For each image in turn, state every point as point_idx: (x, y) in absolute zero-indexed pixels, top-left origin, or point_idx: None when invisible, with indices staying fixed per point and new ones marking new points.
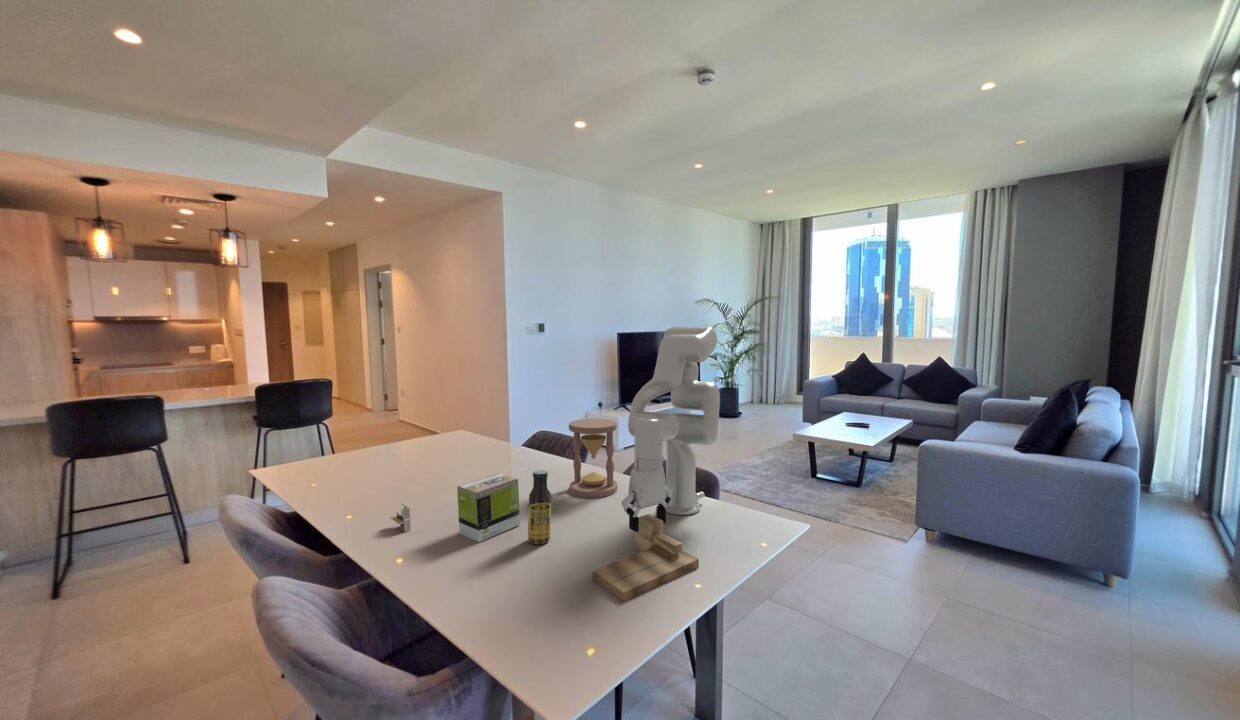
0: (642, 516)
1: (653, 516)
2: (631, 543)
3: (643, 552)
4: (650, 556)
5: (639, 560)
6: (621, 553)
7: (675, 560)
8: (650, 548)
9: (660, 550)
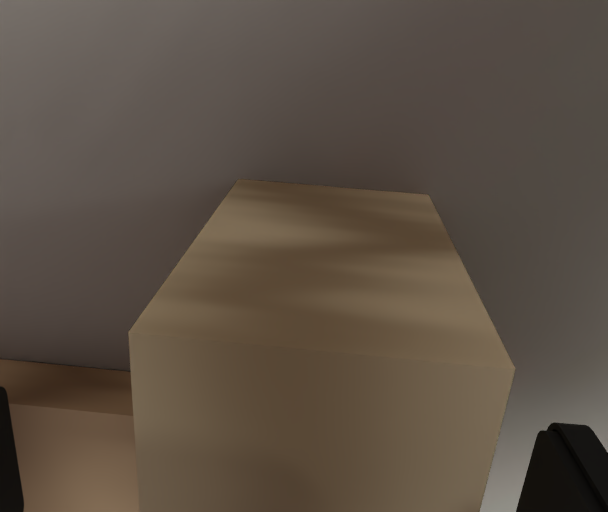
0: (321, 372)
1: (478, 497)
2: (264, 96)
3: (114, 434)
4: (119, 507)
5: None
6: (49, 187)
7: None
8: None
9: None
